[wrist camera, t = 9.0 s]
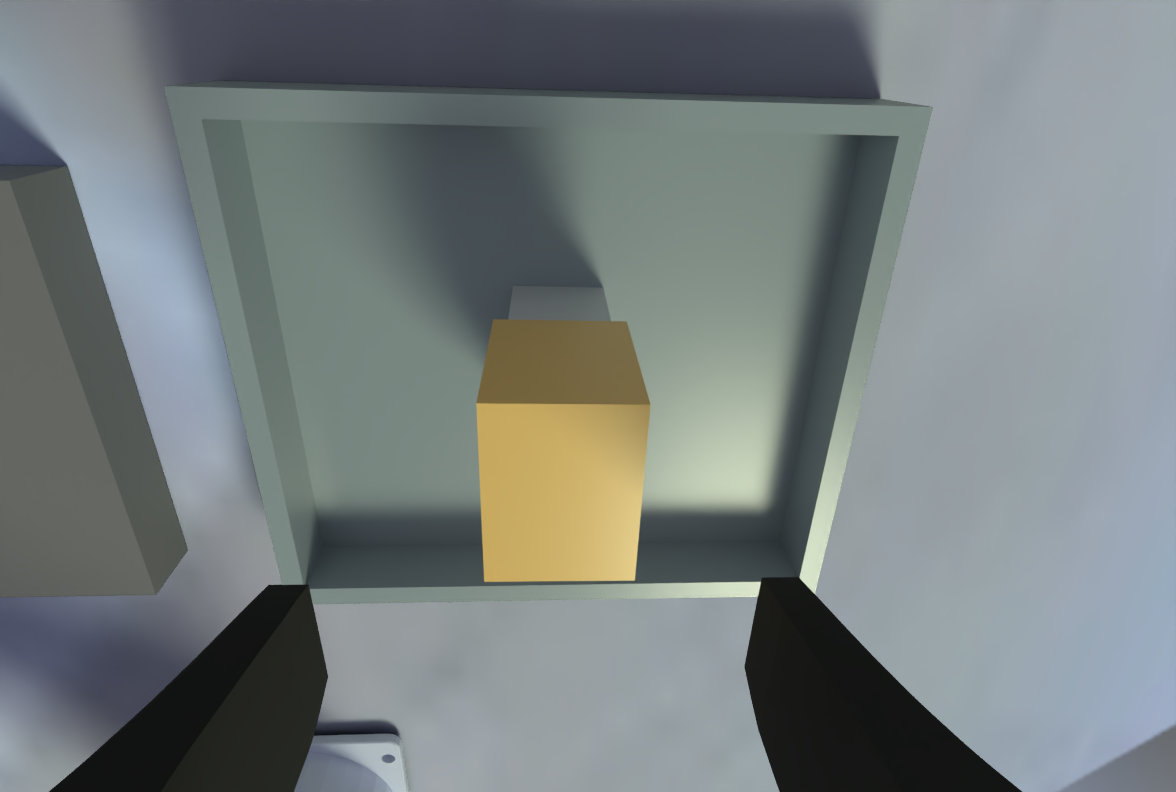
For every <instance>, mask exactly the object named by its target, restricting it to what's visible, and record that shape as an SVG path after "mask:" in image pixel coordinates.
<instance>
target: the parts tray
mask: <svg viewBox="0 0 1176 792" xmlns="http://www.w3.org/2000/svg"><path fill="white" fill-rule="evenodd" d="M164 90H165V94H166V99H167V103H168V107H169V111H170V115H171V120H172V124H173V128H174V132H175V136H176V141H177V145H178V149H179V153H180V157H181V162H182V166H183V170H184V174H185V178H186V183H187V187H188V191H189V195H190V199H191V204H192V208H193V212H194V216H195V220H196V225H197V229H198V233H199V237H200V241H201V246H202V250H203V254H204V258H205V262H206V267H207V271H208V275H209V279H210V283H211V288H212V292H213V296H214V300H215V304H216V309H217V313H218V317H219V321H220V325H221V330H222V334H223V338H224V342H225V346H226V351H227V355H228V359H229V363H230V367H231V372H232V376H233V380H234V384H235V388H236V393H237V397H238V401H239V405H240V409H241V414H242V418H243V422H244V426H245V430H246V435H247V439H248V443H249V447H250V451H251V456H252V460H253V464H254V468H255V472H256V477H257V481H258V485H259V489H260V493H261V498H262V502H263V506H264V510H265V514H266V519H267V523H268V527H269V531H270V535H271V540H272V544H273V548H274V552H275V556H276V561H277V565H278V569H279V573H280V577H281V582H282V585H306V584H309V588H310V593H311V598H312V603H313V604H357V603H414V602H472V601H530V600H587V599H645V598H702V597H758V594H759V589H760V584H761V579H762V578H764V577H799V578H800V579H801V580H802V581H803V582H804V583H805V584H806V585H807V587H808V588H809V589H810V590H811V591H812V592H813V593H814V594H815V591H816V587H817V582H818V578H819V574H820V570H821V566H822V562H823V558H824V554H825V549H826V545H827V541H828V537H829V533H830V529H831V525H832V521H833V517H834V512H835V508H836V504H837V500H838V496H839V492H840V488H841V484H842V479H843V475H844V471H845V467H846V463H847V459H848V455H849V451H850V446H851V442H852V438H853V434H854V430H855V426H856V422H857V418H858V413H859V409H860V405H861V401H862V397H863V393H864V389H865V385H866V381H867V376H868V372H869V368H870V364H871V360H872V356H873V352H874V348H875V343H876V339H877V335H878V331H879V327H880V323H881V319H882V315H883V310H884V306H885V302H886V298H887V294H888V290H889V286H890V282H891V277H892V273H893V269H894V265H895V261H896V257H897V253H898V249H899V245H900V240H901V236H902V232H903V228H904V224H905V220H906V216H907V212H908V207H909V203H910V199H911V195H912V191H913V187H914V183H915V179H916V174H917V170H918V166H919V162H920V158H921V154H922V150H923V146H924V142H925V137H926V133H927V129H928V125H929V121H930V117H931V113H932V109H933V107H930V106H923V105H917V104H911V103H904V102H898V101H891V100H885V99H863V98H827V97H791V96H755V95H719V94H682V93H646V92H610V91H574V90H538V89H502V88H466V87H429V86H393V85H357V84H321V83H285V82H249V81H209V82H199V83H190V84H180V85H170V86H164ZM513 286H546V287H598V288H604V292H605V296H606V301H607V305H608V309H609V314H610V318H611V321H627V324H628V327H629V331H630V334H631V338H632V341H633V345H634V348H635V352H636V355H637V359H638V362H639V366H640V369H641V373H642V376H643V380H644V383H645V387H646V390H647V394H648V397H649V401H650V404H651V407H650V418H649V429H648V440H647V451H646V462H645V473H644V484H643V495H642V506H641V517H640V529H639V540H638V551H637V562H636V573H635V581H522V582H484V566H483V543H482V521H481V498H480V476H479V453H478V431H477V408H476V402H477V397H478V392H479V387H480V382H481V378H482V373H483V368H484V363H485V358H486V353H487V348H488V343H489V338H490V333H491V328H492V323H493V319H507V320H508V317H509V310H510V303H511V297H512V290H513Z"/></svg>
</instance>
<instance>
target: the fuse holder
mask: <svg viewBox="0 0 1176 792" xmlns="http://www.w3.org/2000/svg"><path fill="white" fill-rule="evenodd" d="M187 551H188V550H187V547H186V543H185V540H184V537H183V534H182V531H181V527H180V524H179V521H178V518H177V515H176V512H175V508H174V505H173V502H172V499H171V496H170V492H169V489H168V486H167V483H166V480H165V476H164V473H163V470H162V467H161V464H160V460H159V457H158V454H157V451H156V448H155V445H154V441H153V438H152V435H151V432H150V429H149V425H148V422H147V419H146V416H145V413H144V409H143V406H142V403H141V400H140V397H139V394H138V390H137V387H136V384H135V381H134V378H133V374H132V371H131V368H130V365H129V362H128V358H127V355H126V352H125V349H124V346H123V342H122V339H121V336H120V333H119V330H118V327H117V323H116V320H115V317H114V314H113V311H112V307H111V304H110V301H109V298H108V295H107V291H106V288H105V285H104V282H103V279H102V275H101V272H100V269H99V266H98V263H97V260H96V256H95V253H94V250H93V247H92V244H91V240H90V237H89V234H88V231H87V228H86V224H85V221H84V218H83V215H82V212H81V209H80V205H79V202H78V199H77V196H76V193H75V189H74V186H73V183H72V180H71V177H70V173H69V170H68V167H67V166H29V165H0V597H53V596H115V595H156V594H157V593H158V591H159V590H160V589H161V587H162V586H163V584H164V583H165V582H166V580H167V579H168V577H169V576H170V575H171V573H172V572H173V570H174V569H175V568H176V566H177V565H178V563H179V562H180V561H181V559H182V558H183V556H184V555H185V554H186V552H187Z"/></svg>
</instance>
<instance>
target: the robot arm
mask: <svg viewBox="0 0 1176 792" xmlns="http://www.w3.org/2000/svg"><path fill="white" fill-rule="evenodd" d="M745 671H746V676H747V681H748V685H749V690H750V695H751V700H752V704H753V708H754V712H755V717H756V721H757V725H758V730H759V733H760V736H761V739H762V742H763V745H764V748H765V751H766V753H767V756H768V759H769V762H770V765H771V768H772V771H773V774H774V777H775V780H776V783H777V786H778V788H779V791H780V792H1022V791H1021V790H1019V789H1018V788H1017V787H1016V786H1014V785H1013V784H1012V783H1011V782H1010V781H1008V780H1007V779H1006V778H1005V777H1003V776H1002V775H1001V774H1000V773H999V772H997V771H996V770H995V769H994V768H992V767H991V766H990V765H989V764H987V763H986V762H985V761H984V760H983V759H982V758H980V757H979V756H978V755H977V754H976V753H975V752H974V751H972V750H971V749H970V748H969V747H968V746H967V745H965V744H964V743H963V742H962V741H961V740H960V739H959V738H958V737H957V736H955V735H954V734H953V733H952V732H951V731H950V730H949V729H948V728H947V727H946V726H945V725H943V724H942V723H941V722H940V721H939V720H938V719H937V718H936V717H935V716H934V715H932V714H931V713H930V712H929V711H928V710H927V709H926V708H925V707H924V706H923V705H922V704H921V703H920V702H919V701H918V700H916V699H915V698H914V697H913V696H912V695H911V694H910V693H909V692H908V691H907V690H906V689H905V688H904V687H903V686H902V685H901V684H900V683H899V682H898V681H897V680H896V679H895V678H894V677H893V676H892V675H891V674H890V673H889V672H888V671H887V670H886V669H885V668H884V667H883V666H882V665H881V664H880V663H879V662H878V661H877V660H876V659H875V658H874V657H873V656H872V655H871V654H870V652H869V651H868V650H867V649H866V648H865V647H864V646H863V645H862V644H861V643H860V642H859V641H858V640H857V639H856V638H855V637H854V636H853V635H852V634H851V633H850V631H849V630H848V629H847V628H846V627H845V626H844V625H843V624H842V623H841V622H840V621H839V620H838V619H837V618H836V617H835V615H834V614H833V613H832V612H831V611H830V610H829V609H828V608H827V607H826V606H825V605H824V604H823V603H822V601H821V600H820V599H819V598H818V597H817V596H816V595H815V594H814V593H813V592H812V591H811V590H810V589H809V588H808V587H807V585H806V584H805V583H804V582H803V581H802V580H801V579H800V578H799V577H764V578H762V579H761V584H760V589H759V594H758V599H757V605H756V610H755V615H754V620H753V625H752V631H751V636H750V641H749V646H748V651H747V657H746V662H745ZM327 679H328V674H327V669H326V665H325V660H324V655H323V650H322V645H321V641H320V636H319V631H318V626H317V622H316V617H315V612H314V607H313V603H312V598H311V593H310V588H309V584H306V585H268V586H267V587H266V588H265V589H264V590H263V591H262V592H261V593H260V594H259V595H258V596H257V597H256V598H255V599H254V600H253V601H252V602H251V603H250V604H249V605H248V606H247V607H246V608H245V609H244V610H243V611H242V612H241V613H240V614H239V615H238V616H237V617H236V618H235V619H234V620H233V621H232V622H231V623H230V624H229V625H228V626H227V627H226V628H225V629H224V630H223V631H222V632H221V633H220V634H219V635H218V636H217V637H216V638H215V639H214V640H213V641H212V642H211V643H210V644H209V645H208V646H207V647H206V648H205V649H204V650H203V651H202V652H201V653H200V654H199V655H198V656H197V657H196V658H195V659H194V660H193V661H192V662H191V663H190V664H189V665H188V666H187V667H186V668H185V669H184V670H183V671H182V672H181V673H180V674H179V675H178V676H177V677H176V678H175V679H174V680H173V681H172V682H170V683H169V684H168V685H167V686H166V687H165V688H164V689H163V690H162V691H161V692H160V693H159V694H158V695H157V696H156V697H155V698H154V699H153V700H152V701H151V702H150V703H149V704H148V705H147V706H145V707H144V708H143V709H142V710H141V711H140V712H139V713H138V714H137V715H136V716H135V717H134V718H132V719H131V720H130V721H129V722H128V723H127V724H126V725H125V726H124V727H122V728H121V729H120V730H119V731H118V732H117V733H116V734H115V735H114V736H112V737H111V738H110V739H109V740H108V741H107V742H106V743H105V744H104V745H102V746H101V747H100V748H99V749H98V750H97V751H96V752H95V753H94V754H92V755H91V756H90V757H89V758H88V759H87V760H86V761H85V762H83V763H82V764H81V765H80V766H79V767H78V768H76V769H75V770H74V771H73V772H72V773H71V774H69V775H68V776H67V777H66V778H65V779H63V780H62V781H61V782H60V783H59V784H58V785H56V786H55V787H54V788H53V789H52V790H50V791H49V792H409V786H408V780H407V773H406V766H405V760H404V753H403V747H402V741H401V739H400V738H399V737H398V736H396V735H394V734H356V735H321V736H314V732H315V728H316V725H317V721H318V717H319V713H320V709H321V704H322V700H323V696H324V692H325V687H326V683H327Z"/></svg>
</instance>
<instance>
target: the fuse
mask: <svg viewBox="0 0 1176 792" xmlns="http://www.w3.org/2000/svg"><path fill="white" fill-rule="evenodd" d="M650 407H651V404H650V401H649V397H648V394H647V390H646V387H645V383H644V380H643V376H642V373H641V369H640V366H639V362H638V359H637V355H636V352H635V348H634V345H633V341H632V338H631V334H630V331H629V327H628V324H627V321H611V318H610V314H609V309H608V305H607V301H606V296H605V292H604V288H598V287H546V286H513V290H512V297H511V303H510V310H509V317H508V320H507V319H493V323H492V328H491V333H490V338H489V343H488V348H487V353H486V358H485V363H484V368H483V373H482V378H481V382H480V387H479V392H478V397H477V402H476V408H477V431H478V453H479V476H480V498H481V521H482V543H483V566H484V582H522V581H635V573H636V562H637V551H638V540H639V529H640V517H641V506H642V495H643V484H644V473H645V462H646V451H647V440H648V429H649V418H650Z"/></svg>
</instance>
